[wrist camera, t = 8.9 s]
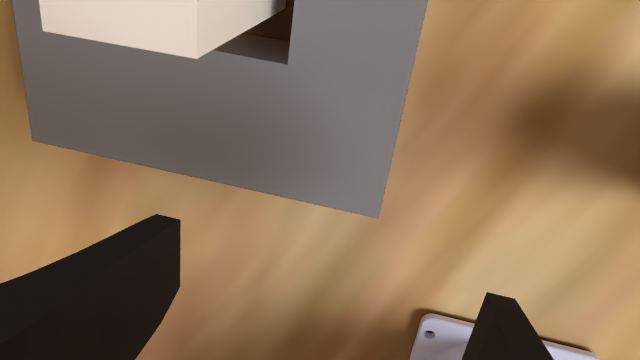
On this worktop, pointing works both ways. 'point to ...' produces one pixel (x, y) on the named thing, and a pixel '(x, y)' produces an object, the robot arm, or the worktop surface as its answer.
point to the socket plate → (239, 101)
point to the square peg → (157, 22)
